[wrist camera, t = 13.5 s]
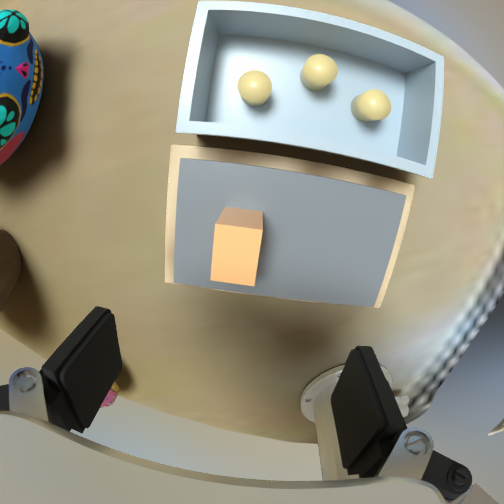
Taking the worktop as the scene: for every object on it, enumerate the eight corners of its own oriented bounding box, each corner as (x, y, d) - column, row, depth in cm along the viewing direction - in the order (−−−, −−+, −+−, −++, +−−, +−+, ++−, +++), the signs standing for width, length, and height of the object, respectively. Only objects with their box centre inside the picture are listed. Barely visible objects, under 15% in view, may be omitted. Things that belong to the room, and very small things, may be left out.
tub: (409, 70, 19) (443, 57, 13) (397, 169, 23) (432, 178, 17) (212, 30, 19) (198, 1, 13) (196, 134, 22) (175, 132, 17)
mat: (413, 184, 23) (415, 185, 23) (378, 306, 28) (379, 308, 27) (172, 144, 23) (171, 144, 22) (166, 280, 27) (165, 282, 27)
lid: (398, 192, 23) (436, 209, 17) (368, 298, 27) (391, 338, 21) (185, 157, 23) (158, 162, 16) (178, 275, 27) (156, 312, 20)
